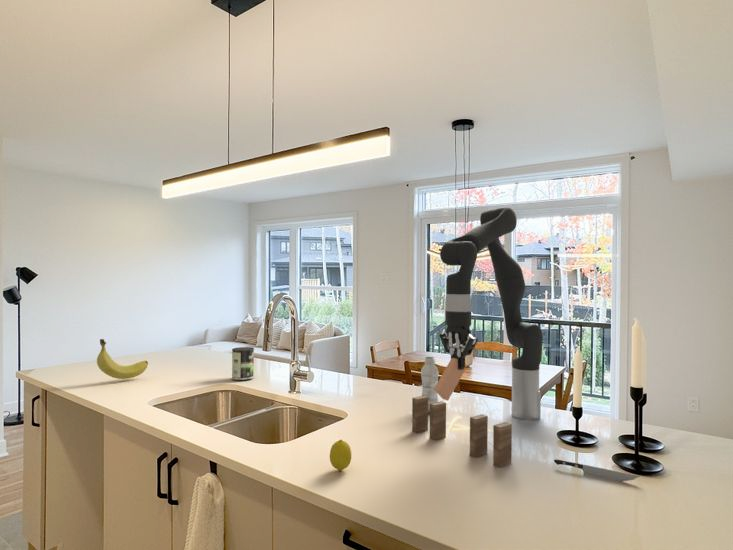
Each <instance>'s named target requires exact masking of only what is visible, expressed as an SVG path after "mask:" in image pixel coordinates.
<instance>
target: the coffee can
mask: <svg viewBox="0 0 733 550" xmlns="http://www.w3.org/2000/svg"><path fill="white" fill-rule="evenodd" d="M254 351H255V348H253V347H250V346H245V347H244V346H243V347H242V346H241V347H234V348H231V352H232V357H231V359H232V361H231V362H232V364H231V366H232V368H231V371H232V373H231V374H232V375H231V378H232V380H236V381H237V380H239V381H240V380H241V381H243V380H250V379H253V378H254V376H255V375H254V370H255V369H254V357H255V356H254V355H255V354H254V353H255V352H254Z"/></svg>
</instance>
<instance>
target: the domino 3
mask: <svg viewBox="0 0 733 550" xmlns="http://www.w3.org/2000/svg"><path fill="white" fill-rule="evenodd" d="M465 371H466V367H465V368H464V369H463V370H458V359H455V358H452V359H451V358H450V361H449V362H448V364H447V366H446V368H445V369H444V370H443V372H442V374H441V376H440V378H438V382H437V384H436V386H435V388H434V390H435V391H436V392H437V395H439V397H440V398H441V399H442V400H444V401H449V399H450V398H451V396H452V395H453V392H454V391H455V389H456V387H457V385H458V384H459V383H460V380H461V378H462V376H463V374H464V373H465Z"/></svg>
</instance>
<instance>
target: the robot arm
mask: <svg viewBox="0 0 733 550" xmlns="http://www.w3.org/2000/svg"><path fill="white" fill-rule="evenodd" d="M479 218H480V223H479V224H480V225H478V226H475V227H473V228H471V229H470V230H468V231H467V232H465V233H464V234H463V235H461V236H458V237H455V238H452V239H451V240H448V241H446V242H444V244H443V245H442V247H441V248H440V251H439V252H440V253H439V256H440V259H441V262H442V263H443V264H444V265H446V266H452V267H453V266H454V267H455V266H460V267H459V269H458V271H457V272H455V273H451V274H449V275H447V276H446V280H445V284H446V286H445V290H446V291H445V293H446V294H445V301H444V304H445V305H444V306H445V307H444V310H445V311H444V324H445V326H446V329H445V332H443V333H440V334H439V338H440V341H441V344H442V347H443V348H444V351H445V353H448V354H449V355H450V360H451V359H452V358H455V359H458V370H463V369H464V368H465V369H466V357H467V356H470V355H472V353H473V351H474V349H475V347H476V345H477V343H478V341H479V339H478V337H474V336H473V335H472V332H471V329H470V327H471V325H472V297H471V296H472V295H471V293H472V292H471V291H472V289H471V288H472V287H471V285H472V284H471V283H472V282H471V281H472V278H473V272H474V268H475V266H476V262H477V258H478V253H480V252H481V251H482V250H483V249H485V248H486V247H487V249H488V252H489V256H490V259H491V263H492V267H493V271H494V276H495V282H496V284H497V289H498V292H499V296H500V302H501V305H502V311H503V316H504V324H505V332H506V337H507V340H508V342H509V344H510V345H511V346H512V347H514V348H519V349H522V353H521V355H520V356H518V357H515V358H512V361H511V416H512V417H514V418H517V419H519V420H525V421H535V420H541V418H542V417H541V416H542V415H541V412H542V409H541V405H542V403H541V401H542V400H541V399H542V397H541V396H542V395H541V391H540V365H541V362H542V358H543V357H542V356H543V341H544V339H543V331H542V329H541V327H540V326H539V325H538V324H536V323H528V322H524V320H523V317H522V313H521V303H522V300H523V298H524V295H525V291H526V283H525V277H524V274H523V270H522V268H521V266H520V264H519V263H518V262H517V261H516V260H515V259H514V258H513V257H512V256H511V255H510V254H509V253H508V252H507V251H506V250H505V248H504V247H503V245H502V243H501V240H500V238H501V237H503V236H505V235H507V234H510V233H512V232H514V230H516V227H517V223H518V220H517V215H516V213H515V211H514V210H513V209H512V207H510V206H501V207H497V208H492V209H487V210H485V211H483V212H481V214H480V217H479Z"/></svg>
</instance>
